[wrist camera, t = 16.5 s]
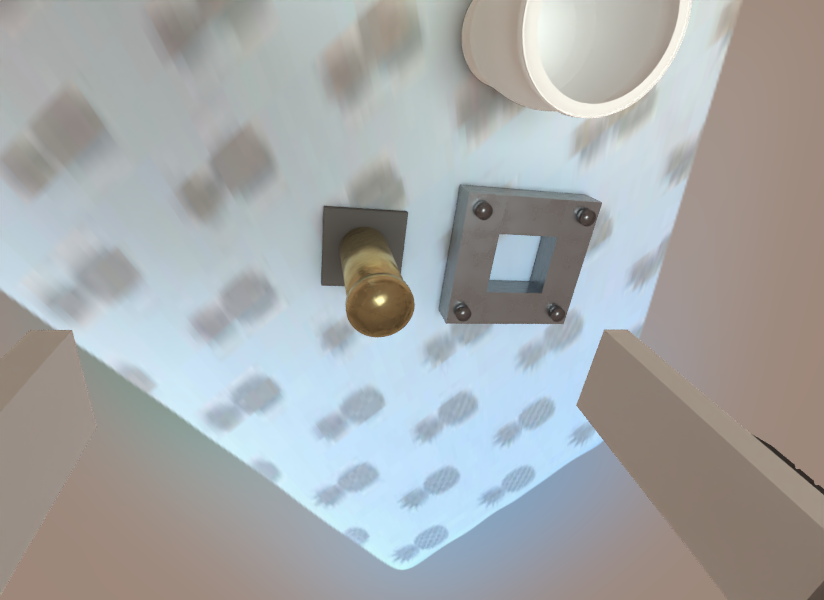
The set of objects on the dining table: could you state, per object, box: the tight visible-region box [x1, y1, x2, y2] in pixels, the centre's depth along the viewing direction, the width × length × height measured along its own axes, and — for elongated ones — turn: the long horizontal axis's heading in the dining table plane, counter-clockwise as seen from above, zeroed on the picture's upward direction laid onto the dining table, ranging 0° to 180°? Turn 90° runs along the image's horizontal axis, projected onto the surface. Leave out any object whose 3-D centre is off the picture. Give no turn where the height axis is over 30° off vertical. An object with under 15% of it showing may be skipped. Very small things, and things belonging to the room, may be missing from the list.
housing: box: [439, 185, 602, 324], centre depth 47 cm, size 14×14×4 cm
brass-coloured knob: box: [339, 227, 414, 337], centre depth 39 cm, size 5×5×12 cm
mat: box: [321, 206, 408, 286], centre depth 44 cm, size 8×8×1 cm
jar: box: [462, 0, 692, 118], centre depth 32 cm, size 11×10×15 cm
